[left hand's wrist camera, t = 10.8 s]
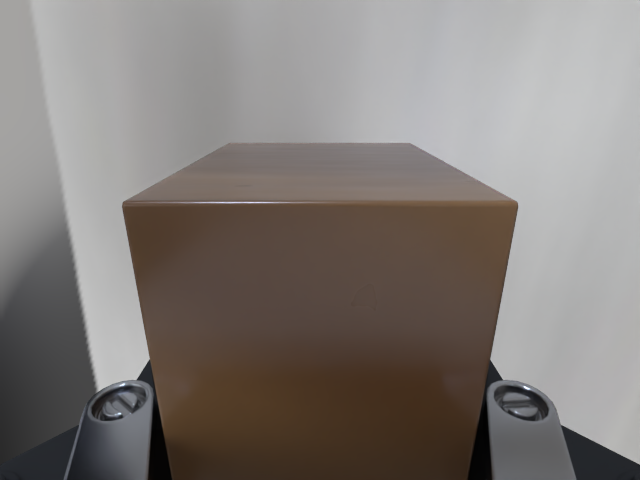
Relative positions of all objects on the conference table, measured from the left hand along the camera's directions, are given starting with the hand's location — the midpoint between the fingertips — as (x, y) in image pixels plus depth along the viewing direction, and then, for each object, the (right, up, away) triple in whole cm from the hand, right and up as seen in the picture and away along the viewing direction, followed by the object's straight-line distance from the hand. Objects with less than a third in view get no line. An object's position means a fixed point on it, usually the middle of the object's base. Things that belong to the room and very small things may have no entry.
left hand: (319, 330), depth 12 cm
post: (0, -22, +10) cm, 24 cm away
